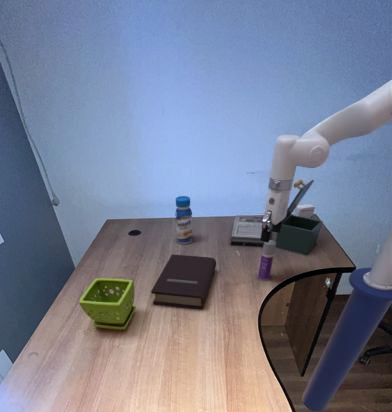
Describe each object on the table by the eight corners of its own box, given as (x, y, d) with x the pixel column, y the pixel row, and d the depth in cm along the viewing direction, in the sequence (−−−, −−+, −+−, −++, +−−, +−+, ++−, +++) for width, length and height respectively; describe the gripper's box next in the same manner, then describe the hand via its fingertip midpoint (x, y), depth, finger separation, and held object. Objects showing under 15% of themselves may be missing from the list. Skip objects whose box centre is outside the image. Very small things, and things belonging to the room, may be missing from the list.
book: (204, 310, 97) (204, 296, 92) (153, 304, 100) (151, 291, 95) (216, 270, 115) (216, 257, 111) (173, 266, 118) (171, 254, 114)
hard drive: (230, 245, 132) (231, 236, 129) (235, 223, 150) (235, 215, 147) (268, 247, 129) (269, 238, 126) (268, 225, 147) (269, 216, 144)
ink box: (304, 226, 145) (310, 203, 136) (309, 230, 141) (315, 206, 133) (290, 228, 143) (295, 205, 135) (294, 232, 140) (300, 208, 131)
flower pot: (105, 306, 99) (95, 276, 90) (141, 309, 98) (134, 279, 88) (89, 331, 90) (76, 301, 81) (128, 335, 88) (119, 304, 79)
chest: (315, 243, 130) (322, 221, 122) (306, 255, 123) (312, 231, 115) (285, 236, 137) (290, 214, 129) (274, 246, 129) (279, 224, 121)
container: (258, 280, 109) (264, 244, 98) (258, 274, 112) (263, 239, 102) (269, 280, 109) (276, 245, 98) (269, 274, 112) (276, 239, 101)
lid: (314, 180, 115) (305, 173, 115) (302, 189, 107) (293, 181, 108) (291, 214, 129) (283, 207, 129) (279, 223, 121) (271, 216, 122)
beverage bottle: (194, 237, 139) (193, 195, 124) (192, 244, 133) (190, 201, 119) (178, 236, 140) (175, 194, 125) (175, 244, 134) (171, 201, 120)
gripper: (280, 193, 79) (269, 248, 92) (301, 179, 89) (288, 230, 101) (257, 189, 82) (250, 242, 95) (280, 176, 92) (270, 226, 104)
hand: (270, 236), depth 98 cm, fingers open, 9 cm apart
